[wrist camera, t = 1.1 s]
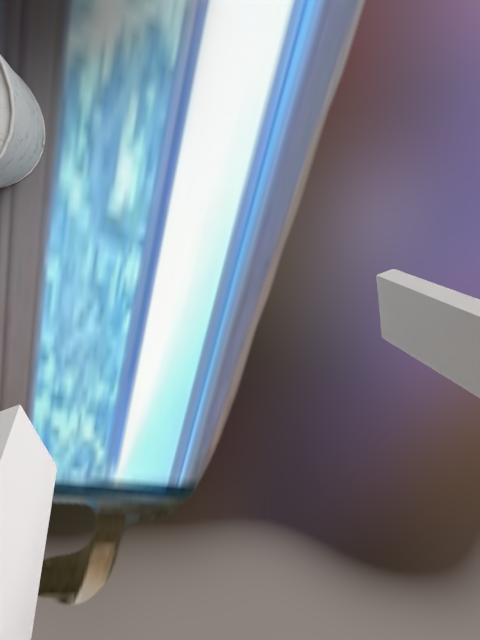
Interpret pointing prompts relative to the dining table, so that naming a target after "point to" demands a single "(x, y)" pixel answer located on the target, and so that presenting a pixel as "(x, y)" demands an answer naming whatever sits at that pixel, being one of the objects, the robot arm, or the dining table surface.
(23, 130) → the white scuffed cylinder
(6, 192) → the dining table surface
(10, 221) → the dining table surface
